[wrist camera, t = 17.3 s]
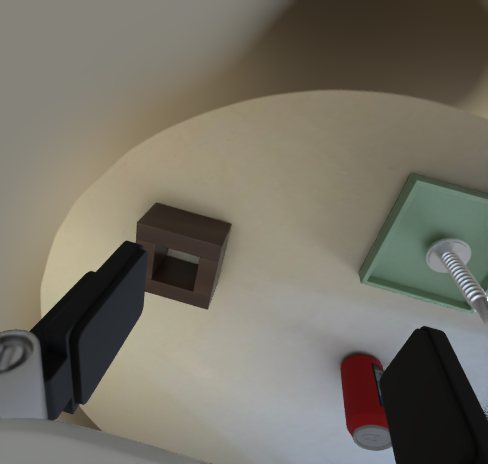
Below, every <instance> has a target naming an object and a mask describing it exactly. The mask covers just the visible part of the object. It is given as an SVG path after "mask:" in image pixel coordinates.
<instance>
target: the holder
mask: <svg viewBox="0 0 488 464" xmlns="http://www.w3.org/2000/svg"><path fill="white" fill-rule="evenodd" d="M231 225H232V224H230V223H226V222H223V221H219V220H216V219H212V218H209V217H205V216H202V215H198V214H194V213H191V212H187V211H184V210H180V209H177V208H173V207H170V206H166V205H163V204H159V203H155V204H154V205H153V206H152V208H151V209H150V210H149V211H148V212H147V213H146V214H145V215H144V216H143V217H142V218H141V219H140V220H139V221H138V222H137V232H136V243H137V244H140V245H143V248H144V250H146V251H147V252H148V257H147V269H146V281H145V292H148V293H152V294H155V295H159V296H162V297H166V298H169V299H173V300H176V301H179V302H183V303H186V304H190V305H193V306H197V307H200V308H204V309H207V310H208V308H209V305H210V303H211V300H212V297H213V295H214V292H215V289H216V287H217V284H218V280H219V276H220V272H221V267H222V263H223V259H224V255H225V251H226V246H227V242H228V238H229V234H230V229H231ZM168 248H170V249H174V250H177V251H181V252H184V253H188V254H191V255H195V256H198V257H200V259H199V264H194V263H191V262H187V261H184V260H180V259H177V258H173V257H170V256H167V252H168Z"/></svg>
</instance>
